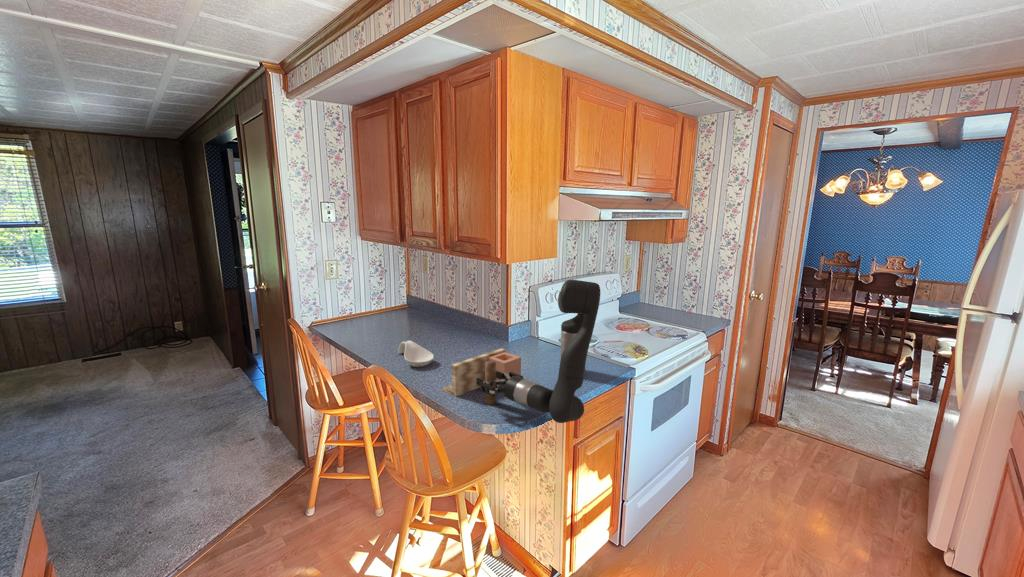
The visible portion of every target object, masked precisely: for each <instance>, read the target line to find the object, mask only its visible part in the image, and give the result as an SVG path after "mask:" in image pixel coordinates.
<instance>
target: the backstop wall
mask: <svg viewBox="0 0 1024 577" xmlns="http://www.w3.org/2000/svg"><path fill="white" fill-rule="evenodd" d="M502 352H506V349H505V348H502V347H501V348H499V349H495V350H492V351H489V352H486V353H483V354H479V355H477V356H474V357H470V358H468V359H465V360H462V361H461V360H460V361H459V362H455V363H452V364H451V365H450V366H451V384H449V385H447V386H444V387H442V390H443V391H444V392H445V393H446V394H449V395H451V396H453V397H458V396H462V395H464V394H466V393H469V392H472V391H474V390H476V389H479V388H481V386H479V385H477V384H476V379H477V378H481V379H483V380H485V362H486V361H488V357H491V356H494V355H496V354H499V353H502Z"/></svg>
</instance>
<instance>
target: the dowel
mask: <svg viewBox="0 0 1024 577" xmlns="http://www.w3.org/2000/svg"><path fill="white" fill-rule="evenodd" d="M485 380H486V381H491V380H496V362H495V361H486V362H485ZM487 385H490V384H487ZM490 386H491V385H490ZM494 387H495V388H496V383H494ZM484 395H485V396H484V397H485V399H484V400H485V405H487V406H494V405H495V404H496V405H497V393H495V396H491V395H488V394H486V393H484Z"/></svg>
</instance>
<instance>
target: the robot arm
mask: <svg viewBox="0 0 1024 577" xmlns="http://www.w3.org/2000/svg"><path fill="white" fill-rule="evenodd" d="M600 300H601V287H600V285H599V284H598V283H597V282H592V281H585V280H579V279H567V280H565V281H564V283H563V284H562V286H561V289H560V291H559V294H558V297H557V306H558V309H559V311H560V312H561V313H563V314H576V315H575V316H574V317H572V318H569V319H567V320H564V321H562V322H561V325H560V326H561V327H560V328H561V329H560V330H561V331H560V360H559V368H558V376H557V380H556V383H555V385H554V388H553V389H550V388H547V387H545V386H543V385H540V384H537V383H535V382H534V381H532V380H528V379H526V378H524V376H523V375H522V374H521V375H518V374H516V373H513V372H509V374H508V373H502V372H499V371H496V378H498V379H500V380H491V381H486V380H483V379H481V378H477V379H476V384H477V385H479V386H481V387H480V392H481V393H483V394H485V393H486V394H488V395H491V396H495V393H496V394H497V393H499V394H503V395H504V396H505V398H506V399H507V400H509V401H512V402H514V403H517V404H519V405H521V406H523V407H527V408H530V409H533V410H536V411H537V412H541V413H549V414H550V417H551V419H552V420H553V421H554V422H555V423H559V424H565V423H570V422H575V421H578V420H579V419H581V417H583V415H584V413H585V405H584V403H583V401H582V400H581V399H580V398H579V397H578V396H577V395H575V394H576V392H577V391H578V390H579V389H581V388H582V386H583V383H584V377H585V372H586V364H587V356H588V352H589V349H590V344H591V340H592V337H593V332H594V328H595V325H596V319H597V315H598V312H599V309H600V308H599V307H600V302H601V301H600ZM494 383H496V388H495V387H494ZM487 384H490V385H491V386H490V385H487Z"/></svg>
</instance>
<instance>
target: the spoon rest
mask: <svg viewBox="0 0 1024 577" xmlns="http://www.w3.org/2000/svg"><path fill="white" fill-rule="evenodd" d="M402 353H403V357H404V359H405V360H404V361H405V362H406V363H407V364H408V365H409V366H412V367H415V368H421V367H426V366H427V365H429V364H431V363H432V362H433V360H434V358H435V356H434V354H433V352H431V351H430V350H428V349H426V348H424V347H422V346H421V345H419V344H418V343H416V342H414V341H413V340H406V341H402V342H400V344H399V346H398V349H397V354H398V355H402Z"/></svg>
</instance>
